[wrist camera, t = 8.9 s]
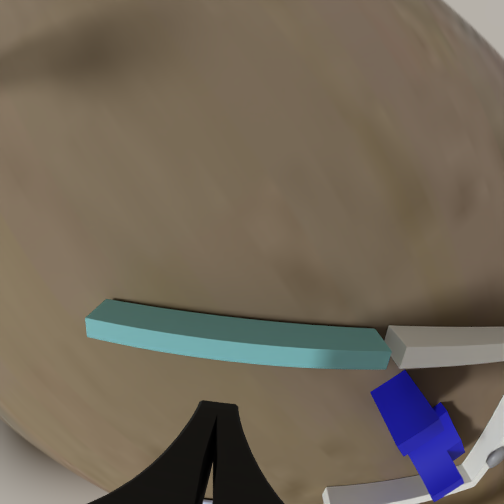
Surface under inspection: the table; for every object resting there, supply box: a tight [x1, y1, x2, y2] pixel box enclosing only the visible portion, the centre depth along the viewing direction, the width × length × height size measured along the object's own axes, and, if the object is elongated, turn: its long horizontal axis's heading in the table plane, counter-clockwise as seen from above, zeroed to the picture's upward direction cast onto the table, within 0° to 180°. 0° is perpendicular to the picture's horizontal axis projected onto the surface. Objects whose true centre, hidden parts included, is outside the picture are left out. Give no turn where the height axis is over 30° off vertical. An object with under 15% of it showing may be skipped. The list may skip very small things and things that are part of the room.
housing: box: [322, 325, 504, 504], centre depth 20 cm, size 19×18×4 cm
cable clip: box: [370, 370, 465, 502], centre depth 19 cm, size 12×4×6 cm, turn 35°
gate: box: [85, 299, 392, 369], centre depth 17 cm, size 17×1×3 cm, turn 83°
